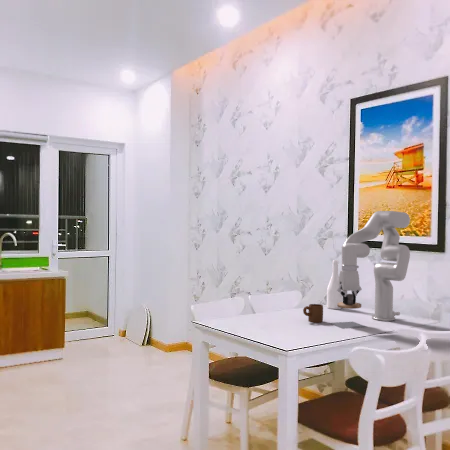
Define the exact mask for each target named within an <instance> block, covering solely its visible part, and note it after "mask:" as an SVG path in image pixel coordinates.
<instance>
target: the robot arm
mask: <svg viewBox="0 0 450 450" xmlns="http://www.w3.org/2000/svg"><path fill="white" fill-rule="evenodd" d="M410 222H411V218H410V216H409V214H408V213H406V212H402V211H394V210H380V211H379V210H377V211H375V212H374V213H372V215H371V216H370V217H369V219H368V221H367V222H366V223H365V225H364V226H363V227H362V228H361V229H359V230H357V231H355V232H353V233H352V234H350V235H349V236H348V237H347V238H346V240H345V241H344V243H343V245H342V246H341V270H340V271H339V274H338V275H339V284H338V289H337V291H338V292H339V293H340V294H341V295H342V296H343V301H342V302H343V304H348V297H347V294H348V292H349V291H351V294H353V304H355V303H357V302H356V301H357V296H358V294H359V293H360V292H361V291H362V287H361V286H360V275H359V271H358V269H359V267H360V266H359V265H358V264H357V263H358V259H362V258H363V259H364V258H367V257H368V256H369V255H370V252H371V249H370V247H369V245H368V244H366V243H365V242H368V241H371V240H374V239H376V238H378V236H379V235H380V232H381V231H382V232H383V239H382V245H381V250H380V254H379V255H380V258H381V260H382V261H387V262H382V261H381V262H378V263H376V264H375V265H374V267H373V276H374V283H375V285H374V286H375V287H374V314H373V315H371V319H372V320H376V321H382V322H383V321H384V322H391V321H393V320H394V321H396V317H395V316H400V315H401V313H400V312H399V311H394V310H393V309H394V308H393V307H394V306H393V305H394V304H393V303H394V286H393V284H392V282H391V281H394V282H402V281H404V280H405V279H406V276H407V273H408V267H409V262H410V258H411V252H410V248H409V246H407V245H405V244H399V243H400V234H399V232H398V231H397V229H396V228H399V229H402V228H403V229H405V228H407V227H408V226H409V225H410ZM357 258H358V259H357ZM395 262H396V263H395ZM341 290H342V291H341ZM394 321H393V322H394Z"/></svg>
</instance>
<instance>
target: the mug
mask: <svg viewBox="0 0 450 450" xmlns="http://www.w3.org/2000/svg"><path fill="white" fill-rule="evenodd" d="M302 310H303V314H304V315H305V316H307V319H308V320H307V321H308V322H309V323H315V324H316V323H317V324H318V323H319V324H320V323H323V322H324V305H323V304H319V303H310V304H308V306H304V307H303V309H302ZM307 311H308V312H307Z"/></svg>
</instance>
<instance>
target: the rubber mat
mask: <svg viewBox="0 0 450 450" xmlns="http://www.w3.org/2000/svg"><path fill="white" fill-rule="evenodd" d="M328 324H329V325H332V326H333V327H337V328H339V329H344V330H345V329H359V328H363V329H364V328H368V326H367V325H363V324H360V323H358V322H355V321H343V322H342V321H341V322H340V321H339V322H328Z"/></svg>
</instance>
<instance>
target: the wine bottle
mask: <svg viewBox="0 0 450 450" xmlns="http://www.w3.org/2000/svg"><path fill="white" fill-rule="evenodd" d="M339 263H340V262H339V260H338V259H333V260H332V273H331V277H330V279H329V282H328V285H327V288H326V307H327V309H329V310H330V309H331V310H341V309H342V308H340V307H338V306H337V303H340V302H343V296H342V295H341V294H340V293H339V292H338V291H337V289H338V284H339V275H340V274H339ZM341 291H342V290H341Z"/></svg>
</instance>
